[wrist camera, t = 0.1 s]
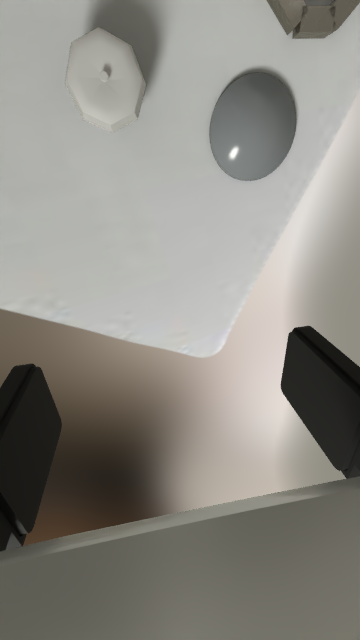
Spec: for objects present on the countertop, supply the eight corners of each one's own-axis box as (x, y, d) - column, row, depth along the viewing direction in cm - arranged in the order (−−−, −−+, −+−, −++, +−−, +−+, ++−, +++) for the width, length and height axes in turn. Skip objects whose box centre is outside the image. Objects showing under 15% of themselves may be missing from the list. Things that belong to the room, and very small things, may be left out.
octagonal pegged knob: (64, 45, 28) (47, 11, 22) (141, 47, 29) (143, 15, 23) (80, 138, 32) (68, 129, 26) (147, 137, 32) (150, 129, 27)
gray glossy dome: (209, 75, 31) (210, 73, 30) (299, 73, 32) (302, 71, 31) (209, 183, 36) (210, 183, 35) (287, 178, 37) (289, 178, 37)
